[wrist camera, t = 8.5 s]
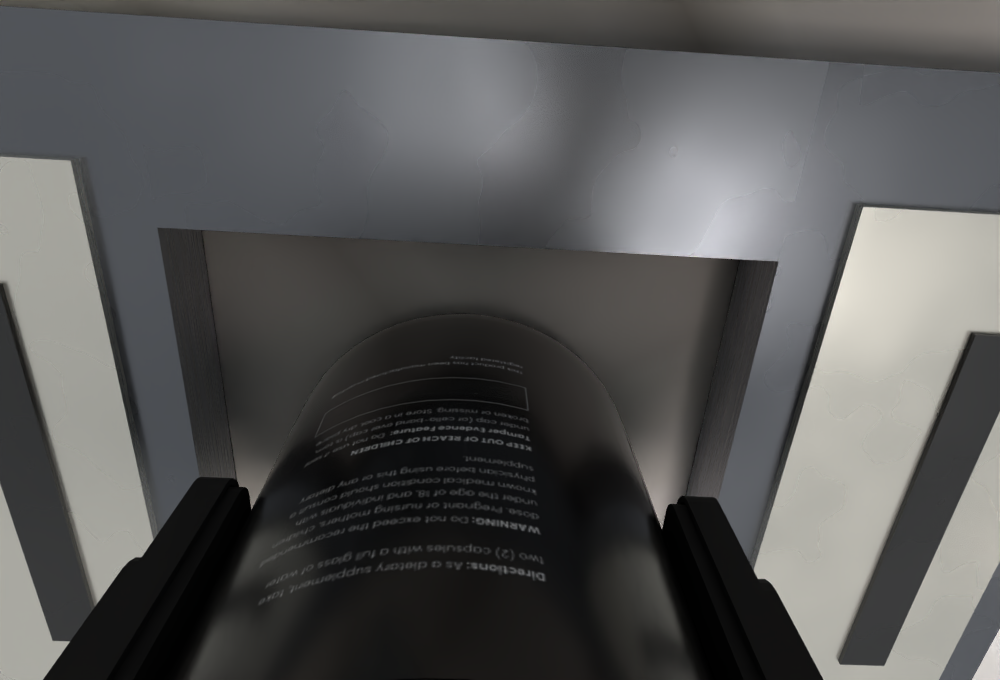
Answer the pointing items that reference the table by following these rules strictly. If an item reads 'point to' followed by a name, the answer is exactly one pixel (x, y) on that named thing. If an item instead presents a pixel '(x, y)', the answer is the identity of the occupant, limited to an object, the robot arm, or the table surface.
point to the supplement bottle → (451, 527)
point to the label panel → (528, 224)
